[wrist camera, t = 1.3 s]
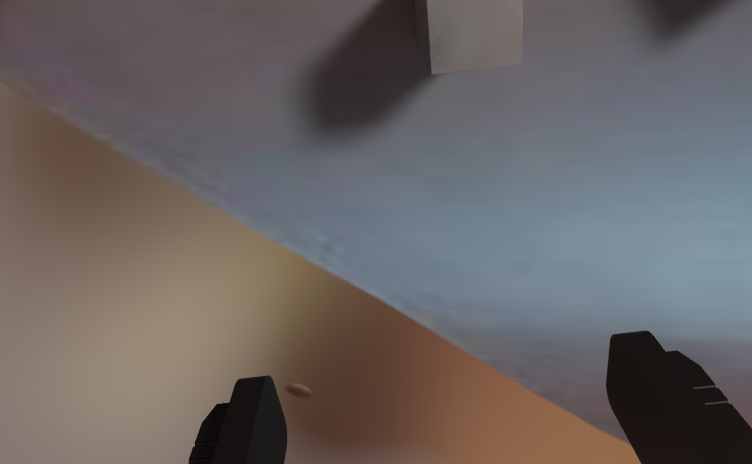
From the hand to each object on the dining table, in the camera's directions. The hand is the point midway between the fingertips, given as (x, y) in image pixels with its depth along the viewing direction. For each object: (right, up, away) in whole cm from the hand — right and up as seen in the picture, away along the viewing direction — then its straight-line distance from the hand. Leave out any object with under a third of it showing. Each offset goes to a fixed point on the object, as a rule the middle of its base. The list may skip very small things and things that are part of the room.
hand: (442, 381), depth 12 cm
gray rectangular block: (+3, +19, +22) cm, 29 cm away
